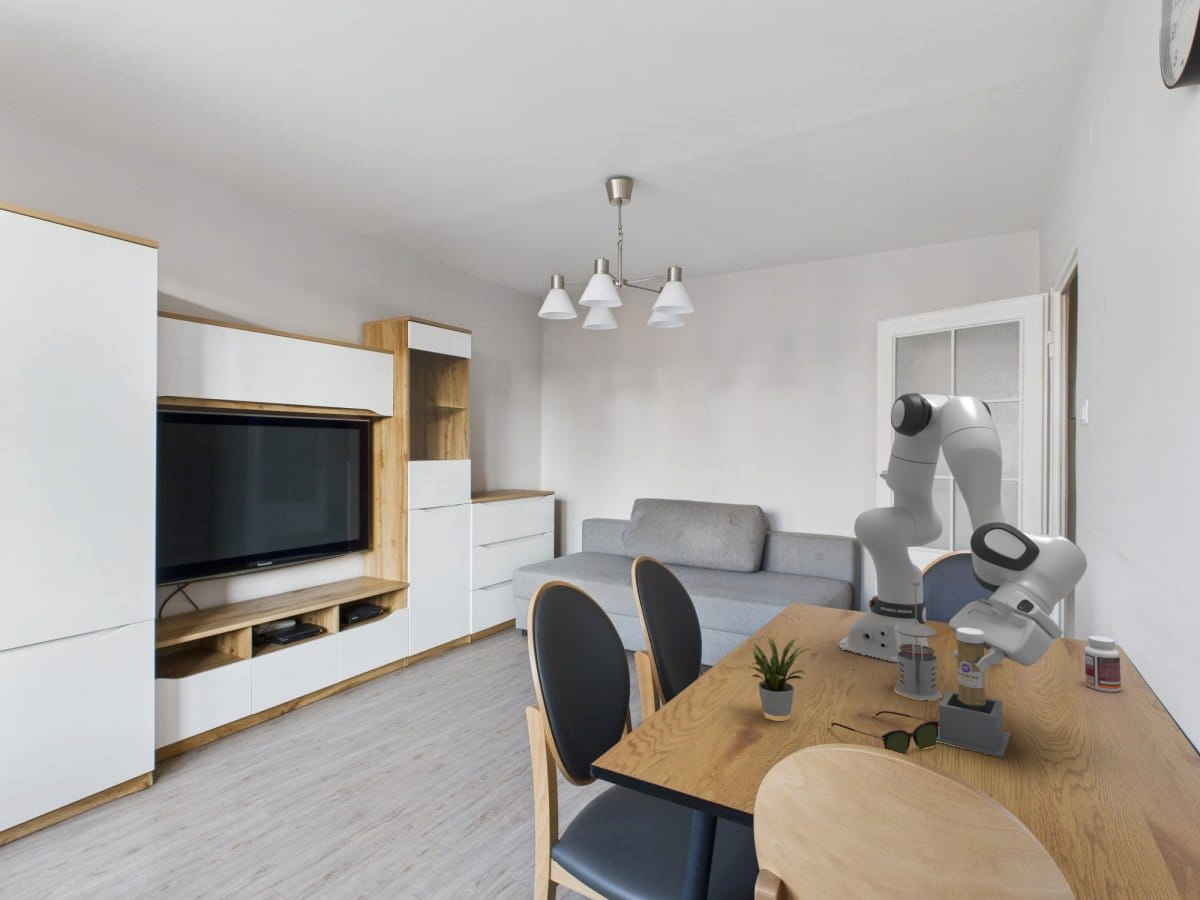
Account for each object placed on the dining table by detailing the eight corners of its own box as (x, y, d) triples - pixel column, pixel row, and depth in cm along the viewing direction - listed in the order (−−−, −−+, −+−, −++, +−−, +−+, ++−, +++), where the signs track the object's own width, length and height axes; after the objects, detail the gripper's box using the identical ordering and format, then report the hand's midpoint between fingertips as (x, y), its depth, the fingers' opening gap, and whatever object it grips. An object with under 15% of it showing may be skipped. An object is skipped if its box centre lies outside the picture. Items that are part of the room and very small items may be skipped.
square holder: (932, 741, 116) (931, 705, 116) (944, 721, 125) (943, 687, 125) (1002, 758, 109) (1002, 720, 109) (1010, 736, 118) (1009, 700, 118)
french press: (941, 688, 142) (938, 577, 143) (945, 706, 132) (942, 587, 132) (893, 682, 147) (891, 574, 147) (893, 699, 136) (891, 584, 136)
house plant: (819, 707, 133) (818, 629, 133) (820, 734, 120) (818, 648, 120) (750, 699, 137) (749, 624, 138) (743, 725, 124) (742, 642, 125)
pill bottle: (1125, 689, 140) (1124, 639, 140) (1114, 695, 137) (1113, 644, 137) (1091, 680, 145) (1090, 633, 145) (1080, 686, 142) (1079, 637, 142)
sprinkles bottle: (955, 703, 117) (953, 630, 117) (960, 696, 120) (958, 625, 120) (984, 709, 114) (981, 634, 114) (988, 701, 117) (986, 629, 118)
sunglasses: (884, 764, 109) (881, 734, 109) (822, 737, 122) (820, 710, 123) (942, 747, 115) (939, 719, 115) (877, 723, 128) (875, 698, 129)
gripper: (969, 586, 128) (923, 636, 127) (1045, 610, 108) (992, 669, 107) (990, 607, 128) (945, 657, 128) (1071, 635, 108) (1018, 695, 107)
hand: (967, 663), depth 117 cm, fingers closed on sprinkles bottle, 4 cm apart
